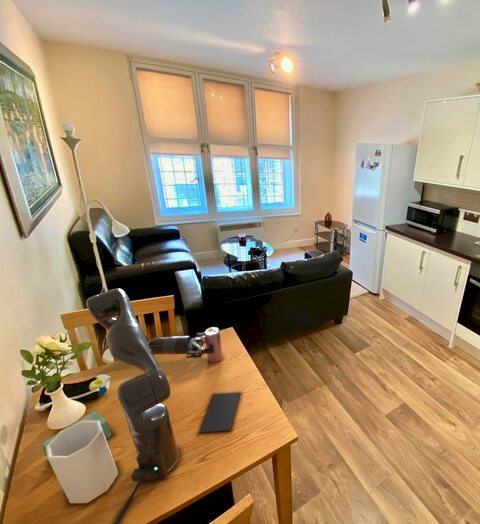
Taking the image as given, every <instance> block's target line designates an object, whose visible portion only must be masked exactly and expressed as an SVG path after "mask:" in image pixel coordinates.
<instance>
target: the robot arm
mask: <svg viewBox="0 0 480 524" xmlns="http://www.w3.org/2000/svg"><path fill="white" fill-rule="evenodd" d="M85 304H86V308H87V310H88V312H89V314H90V316H91V317H93V319H94V320H95V321H96V322H97V323H98V324H99V325H101V326H102V327H103V328H105V329H106V330H107V331H108V332H107V335H106V344H107V347H108V350H109V353H110V355H111V357H112V358H113V359H114V360H116V361H118V362H119V363H122V364H124V365H127V366H130V367H134V368H136V369H139V370H140V371H141V372H143V374H140V375H138V376H135V377H133V378H130V379H127V380H125V381H123V382H122V383H120V384H119V385H118V388H117V398H118V402H119V405H120V407H121V409H122V412H123V414H124V416H125V418H126V421H127V425H128V428H129V432H130V435H131V439H132V442H133V445H134V447H135V451H136V454H137V456H136V458H135V459H136V463H137V465H138V468H137V467H136V468H134V470H133V472H132V474H131V475H130V477H131V480H132V482H133V483H134V482H137V484H136V486H135V487H134V489H133V491H132V492H131V494H130V495H129V497H128V499H127V501H126V503H125V504H124V506H123V508H122V509H121V511H120V513H119V515H118V517H117V518H116V520H115V522H113V524H119V522H120V521H121V519H122V517H123V515H124V514H125V512H126V511H127V508H128V507H129V505H130V504H131V501H132V500H133V498H134V496H135V495H136V493H137V491H138V490H139V488H140V486H141V485H142V483H143V482H146V481H147V482H148V481H154V480H155V479H161V478H162V479H163V478H166V477H167V475H168V474H169V473H170V472H171V471H172V470H173V469H174V468H175V466H176V465H177V464H178V461H179V459H180V452H179V449H178V445H177V441H176V436H175V433H174V429H173V425H172V420H171V416H170V411H169V408H168V407H167V406H166V405H165V404H163V403H164V402H165V401H168V399H170V397H171V393H172V390H171V385H170V382H169V379H168V378H167V375H166V374H165V372H164V371H163V370H162V368H161V365H160V364H159V362H158V360H157V358H156V357H155V355H185V356H186V358H189V359H190V358H191V359H193V358H195V359H196V358H197V359H200V358H203V357H202V356H203V355H207V354H209V353H214V348H206V347H205V348H204V345H206V341H205V332H197V333H196V337H191V336H190V335H182V336H181V335H179V336H177V335H176V336H166V337H165V336H164V337H154V338H152V339H151V340H150V341H149V338H148V336H147V335H146V334H145V332H144V330H143V328H142V326H141V324H140V323H139V321H138V319H137V317H136V315H135V312H134V309H133V306H132V303H131V300H130V298H129V296H128V294H127V292H126V291H124V289H122V288H119V287H117V288H112V289H109V290H107V291H103V292H101V293H98V294H96V295H92V296H91V297H88V298H87V299H86V303H85Z"/></svg>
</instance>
